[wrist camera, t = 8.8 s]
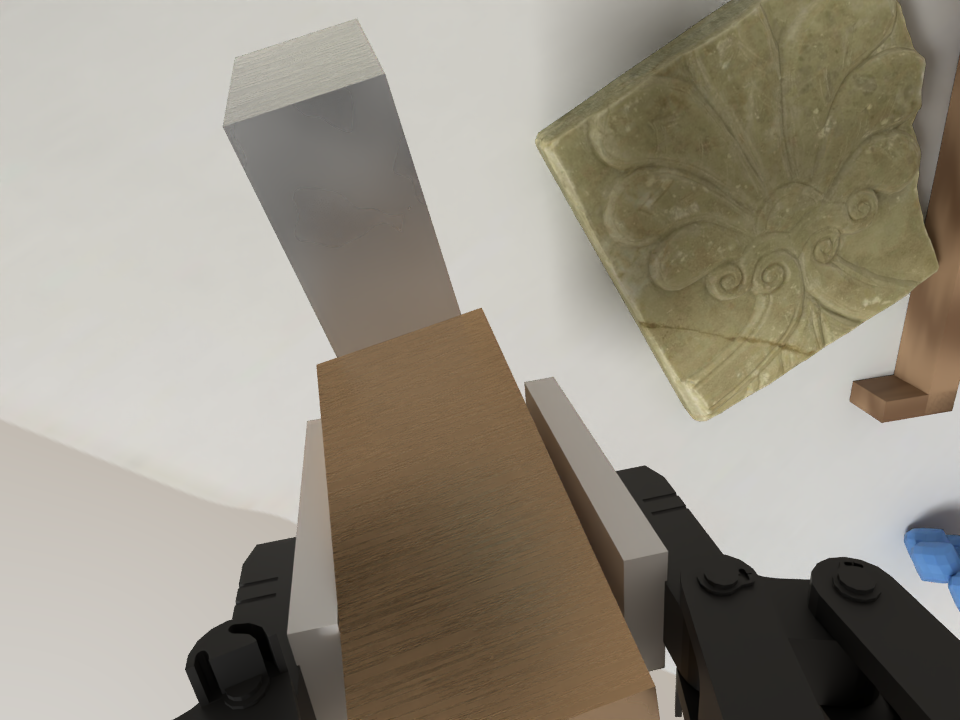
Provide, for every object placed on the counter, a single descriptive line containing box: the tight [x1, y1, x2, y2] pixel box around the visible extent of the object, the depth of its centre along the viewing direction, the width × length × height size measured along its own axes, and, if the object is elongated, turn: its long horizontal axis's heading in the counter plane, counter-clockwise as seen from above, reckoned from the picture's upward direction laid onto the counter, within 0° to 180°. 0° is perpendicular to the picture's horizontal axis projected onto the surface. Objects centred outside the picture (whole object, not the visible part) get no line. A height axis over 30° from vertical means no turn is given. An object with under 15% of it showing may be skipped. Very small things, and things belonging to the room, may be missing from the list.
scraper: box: [223, 19, 660, 720], centre depth 15 cm, size 16×4×14 cm, turn 16°
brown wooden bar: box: [850, 56, 960, 423], centre depth 38 cm, size 27×5×3 cm, turn 4°
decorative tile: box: [535, 0, 939, 421], centre depth 36 cm, size 19×20×4 cm
